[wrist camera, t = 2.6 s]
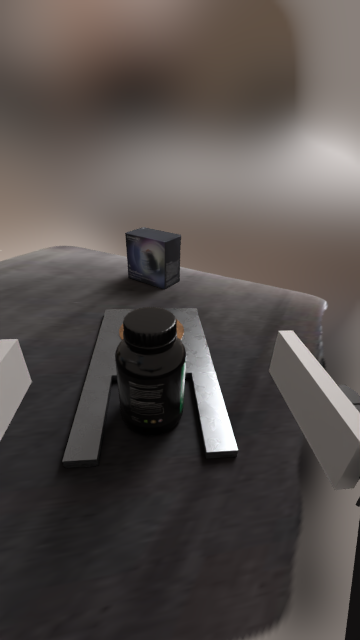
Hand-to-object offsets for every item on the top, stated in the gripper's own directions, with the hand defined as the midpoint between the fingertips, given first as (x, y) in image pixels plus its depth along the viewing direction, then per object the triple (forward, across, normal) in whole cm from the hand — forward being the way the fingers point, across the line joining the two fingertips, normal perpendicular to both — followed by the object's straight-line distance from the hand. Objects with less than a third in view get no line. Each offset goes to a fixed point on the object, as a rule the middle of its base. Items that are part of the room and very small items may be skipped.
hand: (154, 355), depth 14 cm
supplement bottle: (+10, 0, -16) cm, 19 cm away
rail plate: (+18, 0, -16) cm, 24 cm away
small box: (+48, 0, -16) cm, 50 cm away
